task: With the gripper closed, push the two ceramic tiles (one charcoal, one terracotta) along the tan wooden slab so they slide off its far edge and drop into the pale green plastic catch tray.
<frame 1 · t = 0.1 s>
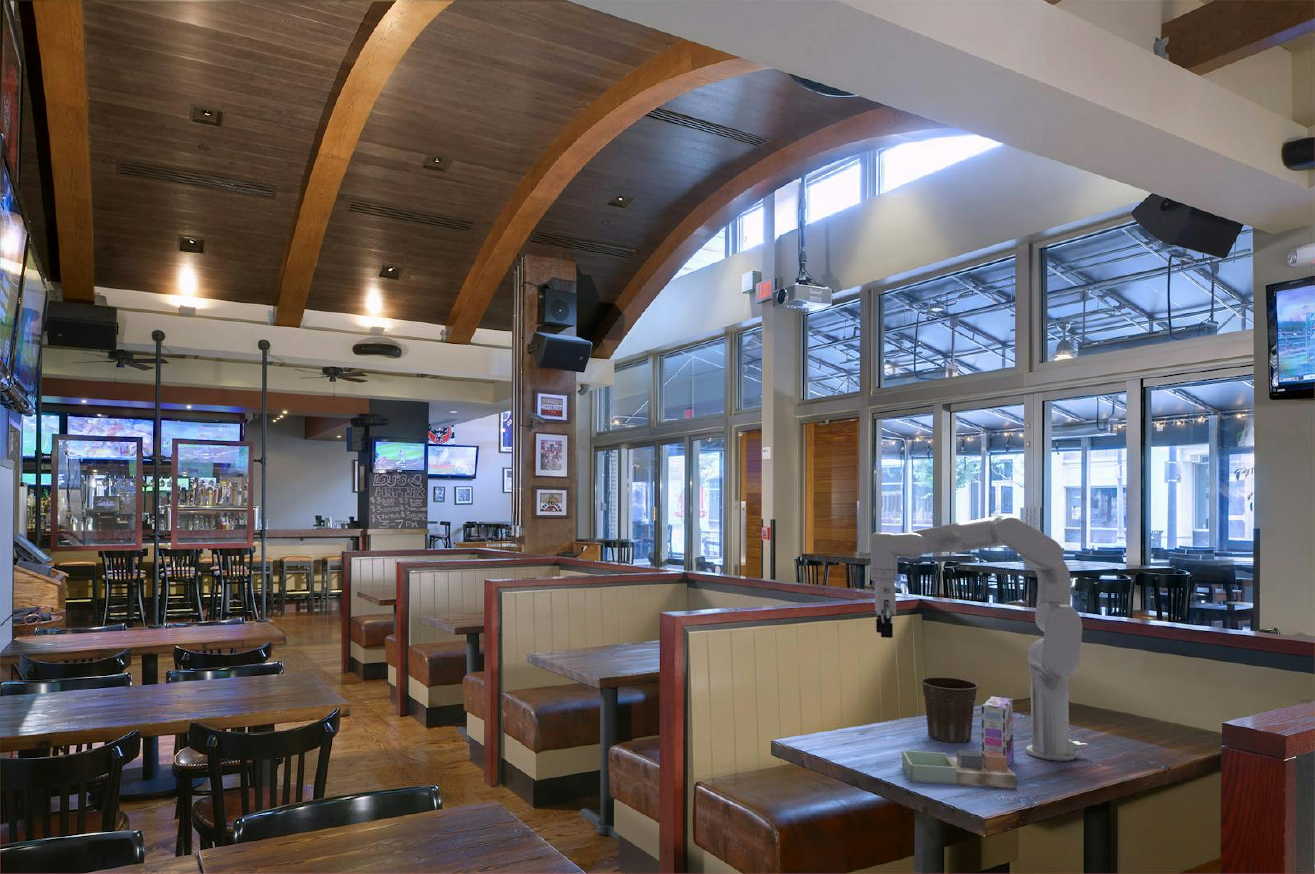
hand: (884, 634, 242), 31 cm above the table, fingers open, 9 cm apart
tile 2: (994, 766, 212), point 3 cm above the table, touching tan wooden slab
candy box: (998, 764, 224), on the table
tile front: (969, 765, 213), point 3 cm above the table, touching tan wooden slab
plant pot: (949, 738, 250), on the table
tray: (928, 774, 214), on the table
tan wooden slab: (979, 777, 212), on the table
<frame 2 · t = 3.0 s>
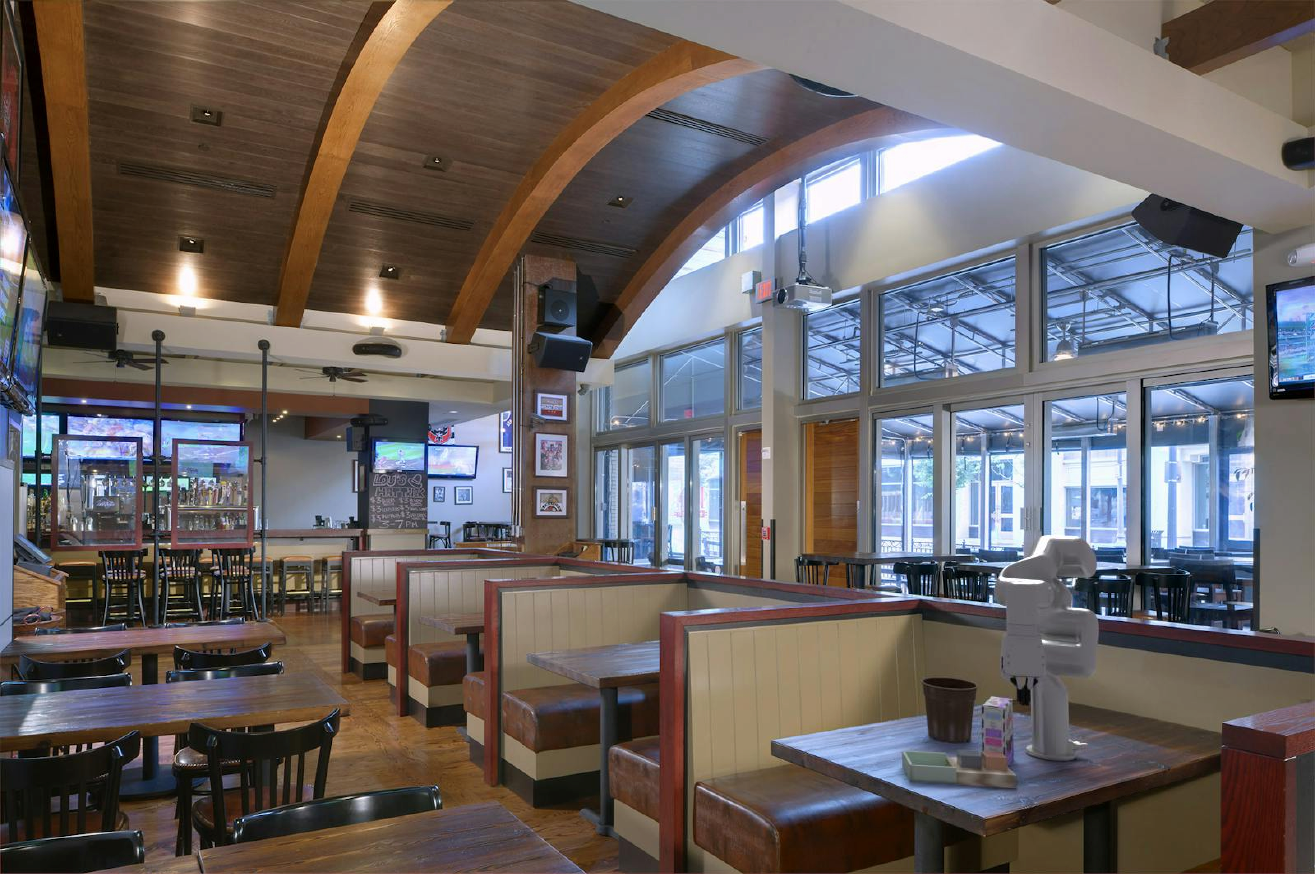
hand: (1023, 704, 212), 19 cm above the table, fingers closed
nothing on the table moved.
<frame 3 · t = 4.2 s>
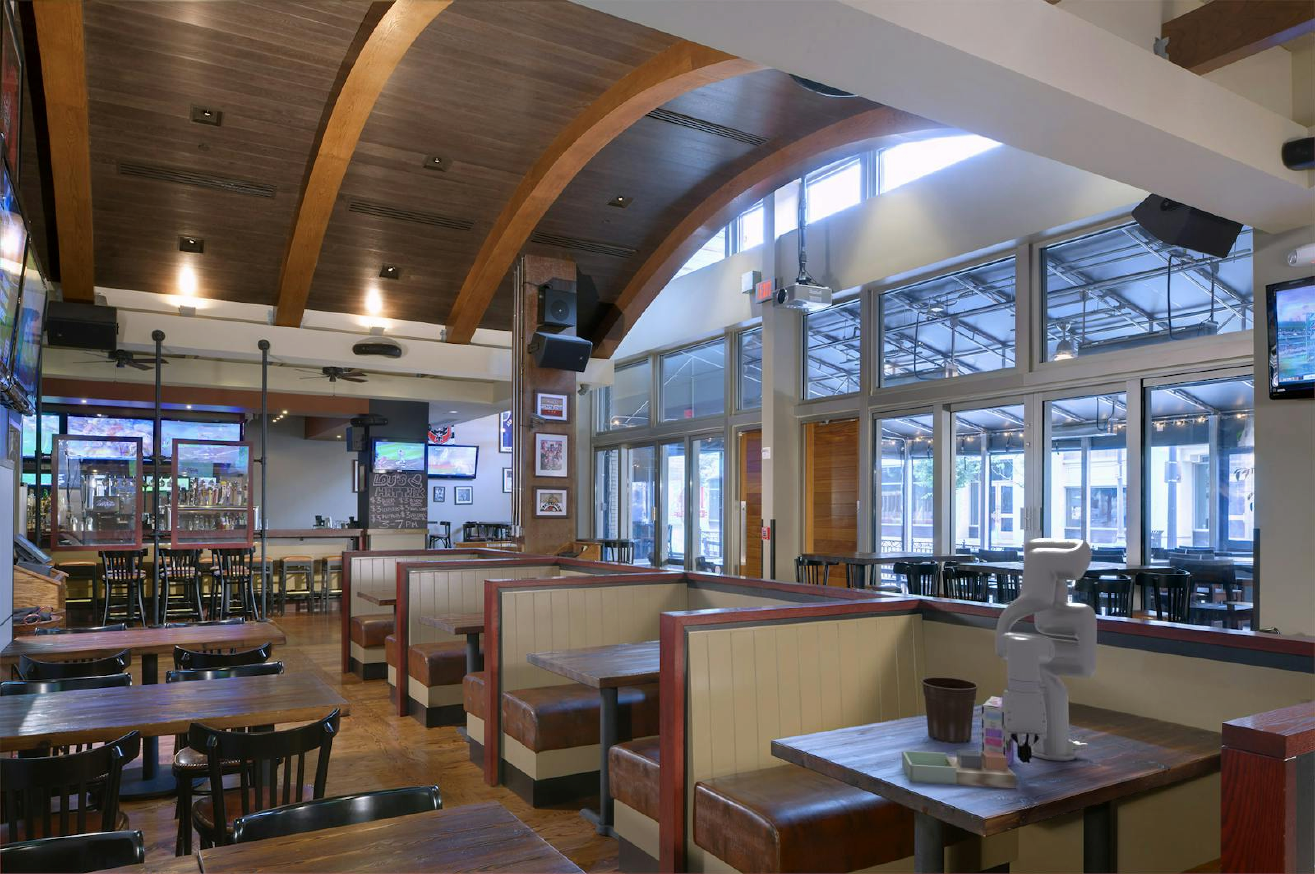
hand: (1024, 761, 211), 5 cm above the table, fingers closed
nothing on the table moved.
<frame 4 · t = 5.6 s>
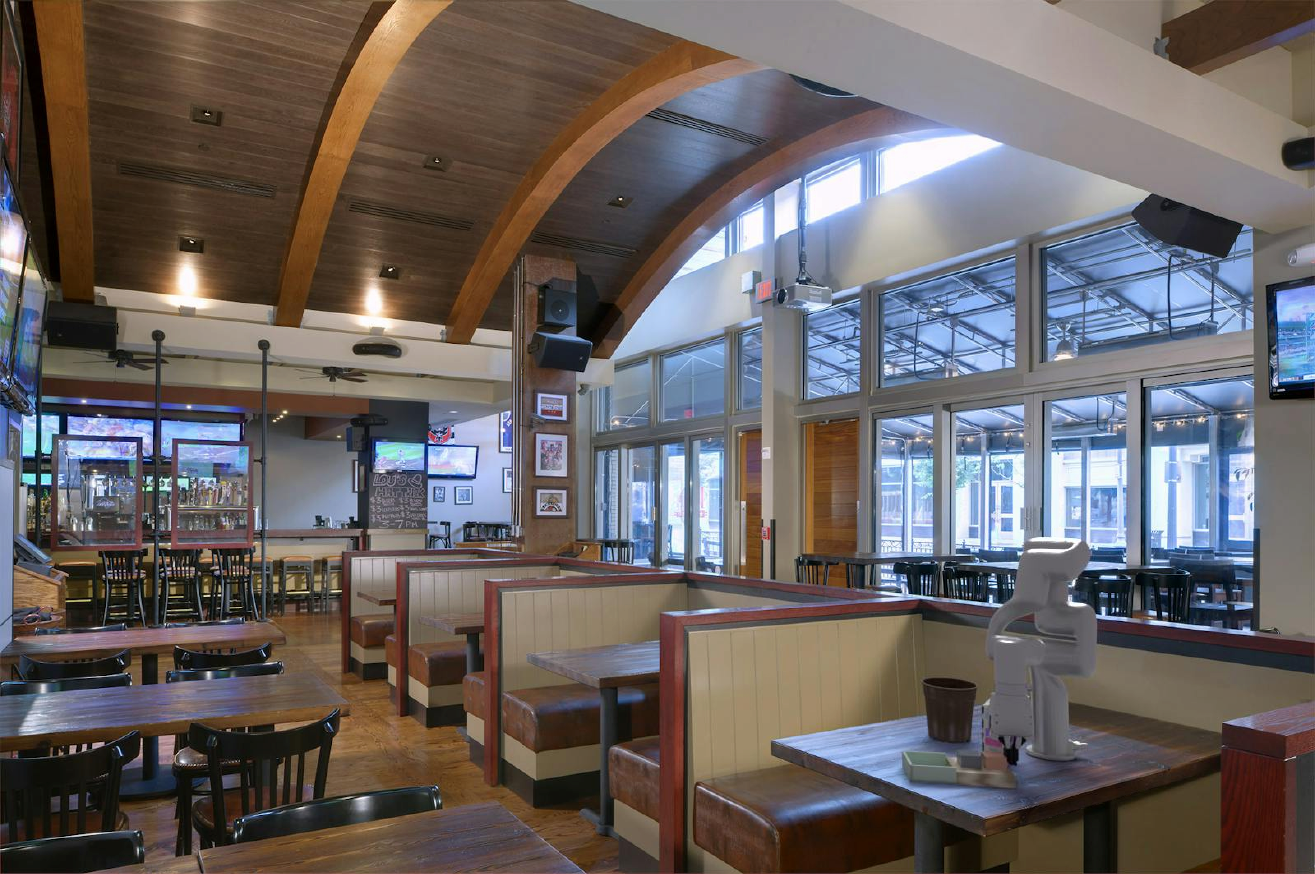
hand: (1011, 763, 211), 4 cm above the table, fingers closed
tile 2: (993, 766, 212), point 3 cm above the table, touching tan wooden slab, gripper
everything else where it was.
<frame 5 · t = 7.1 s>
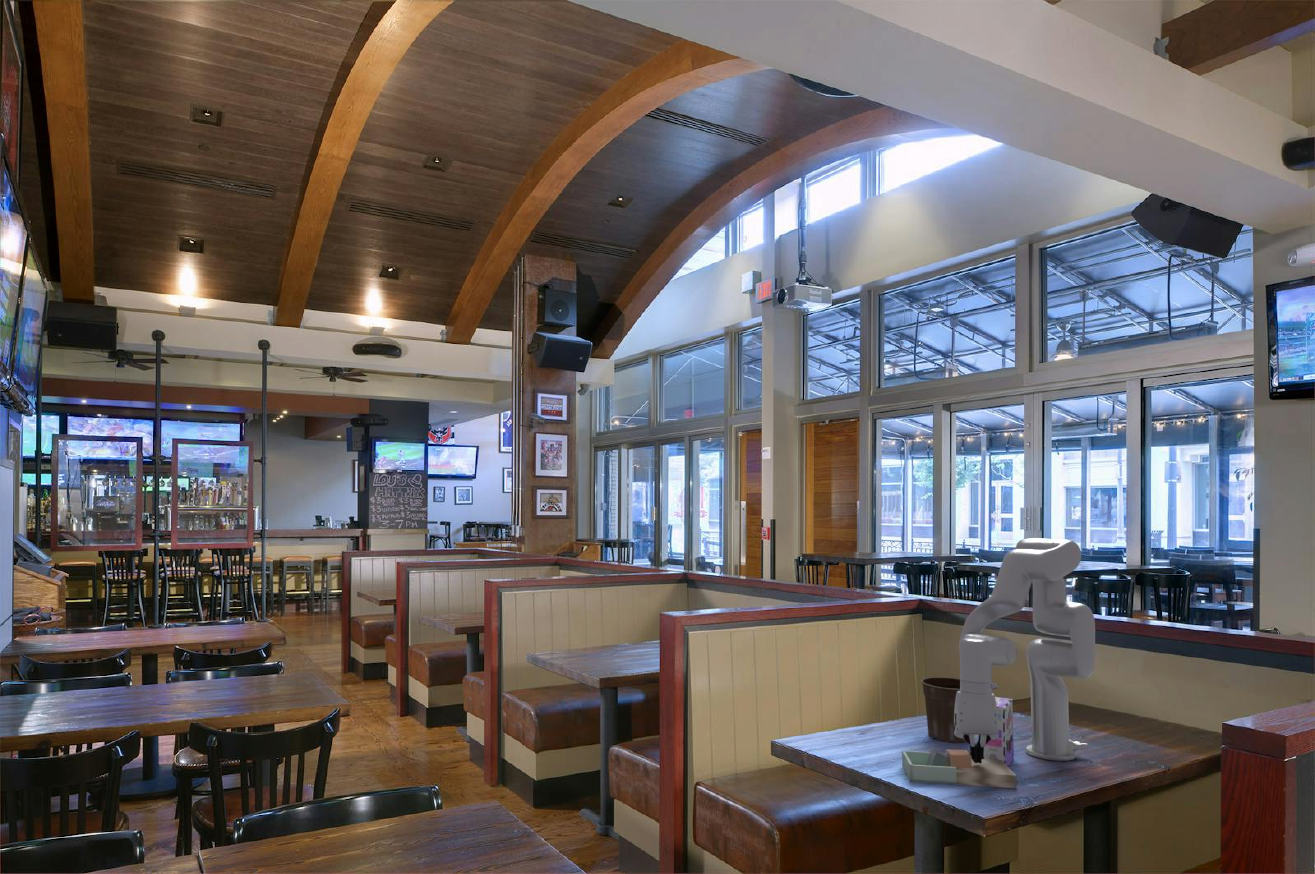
hand: (976, 761, 212), 4 cm above the table, fingers closed
tile 2: (958, 764, 213), point 3 cm above the table, touching tan wooden slab, gripper
tile front: (942, 763, 213), point 3 cm above the table, tilted 70°, touching tray
everything else where it was.
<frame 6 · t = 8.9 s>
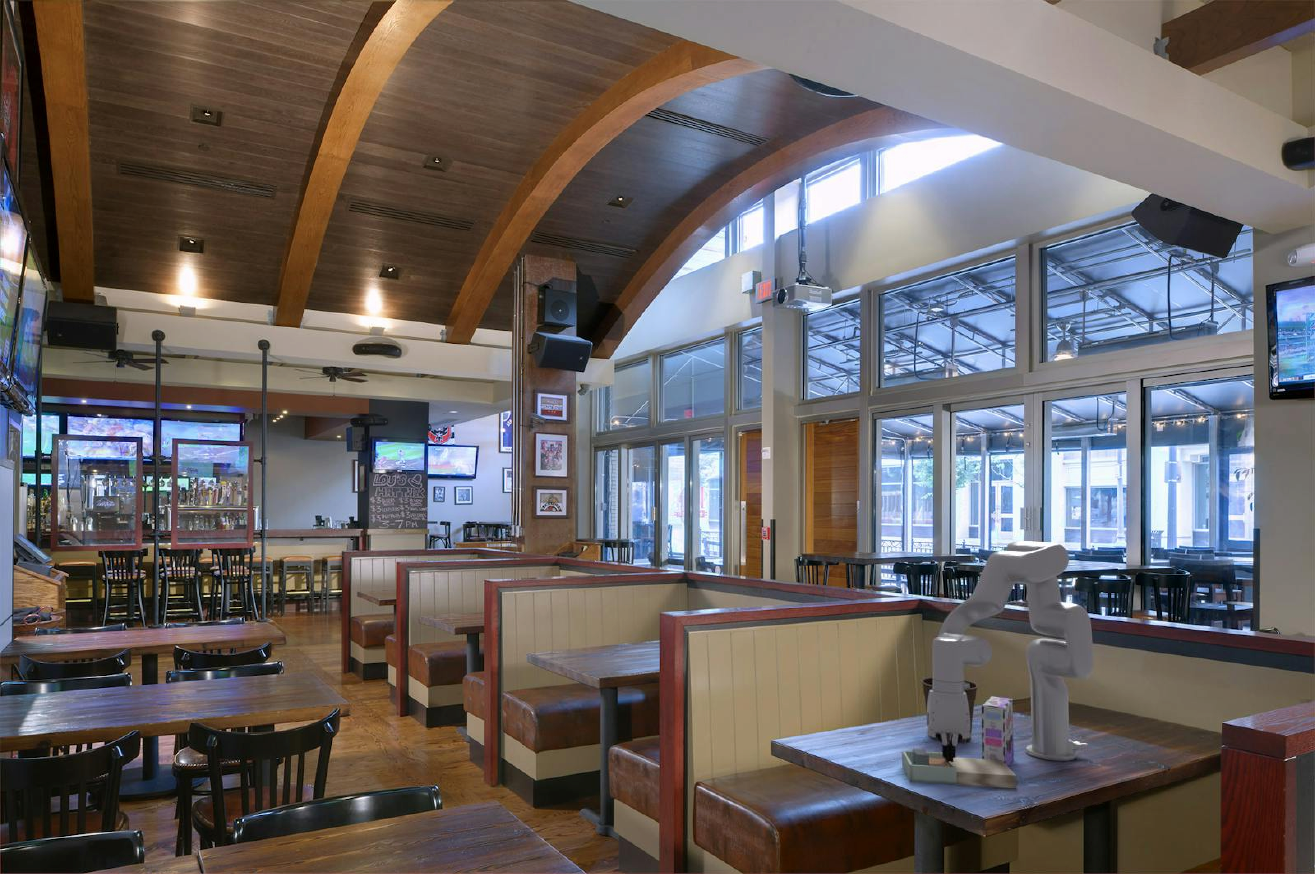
hand: (948, 760, 213), 4 cm above the table, fingers closed
tile 2: (937, 773, 213), point 1 cm above the table, touching tray
tile front: (926, 761, 214), point 3 cm above the table, tilted 90°, touching tray
everything else where it was.
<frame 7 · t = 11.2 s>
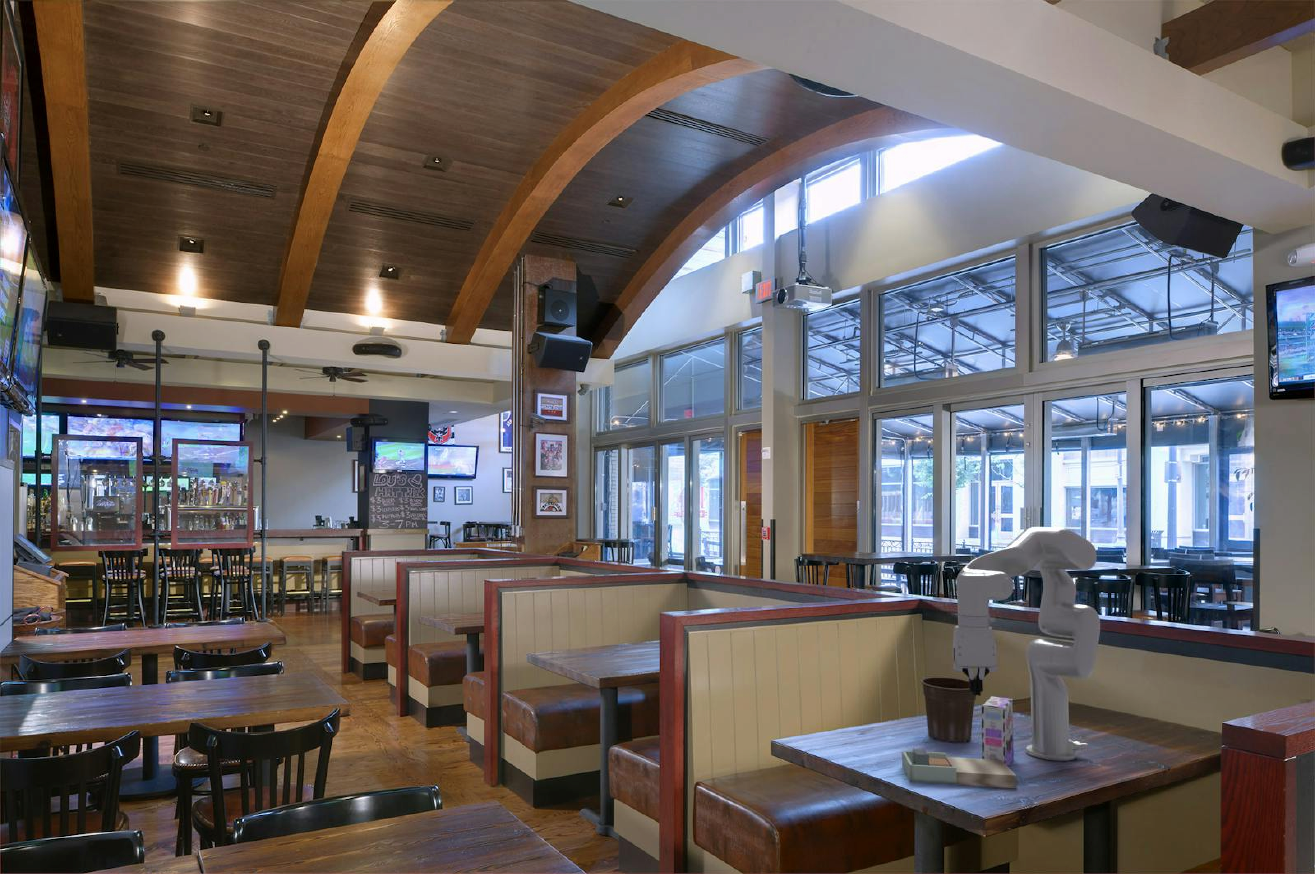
hand: (976, 694, 214), 21 cm above the table, fingers closed
nothing on the table moved.
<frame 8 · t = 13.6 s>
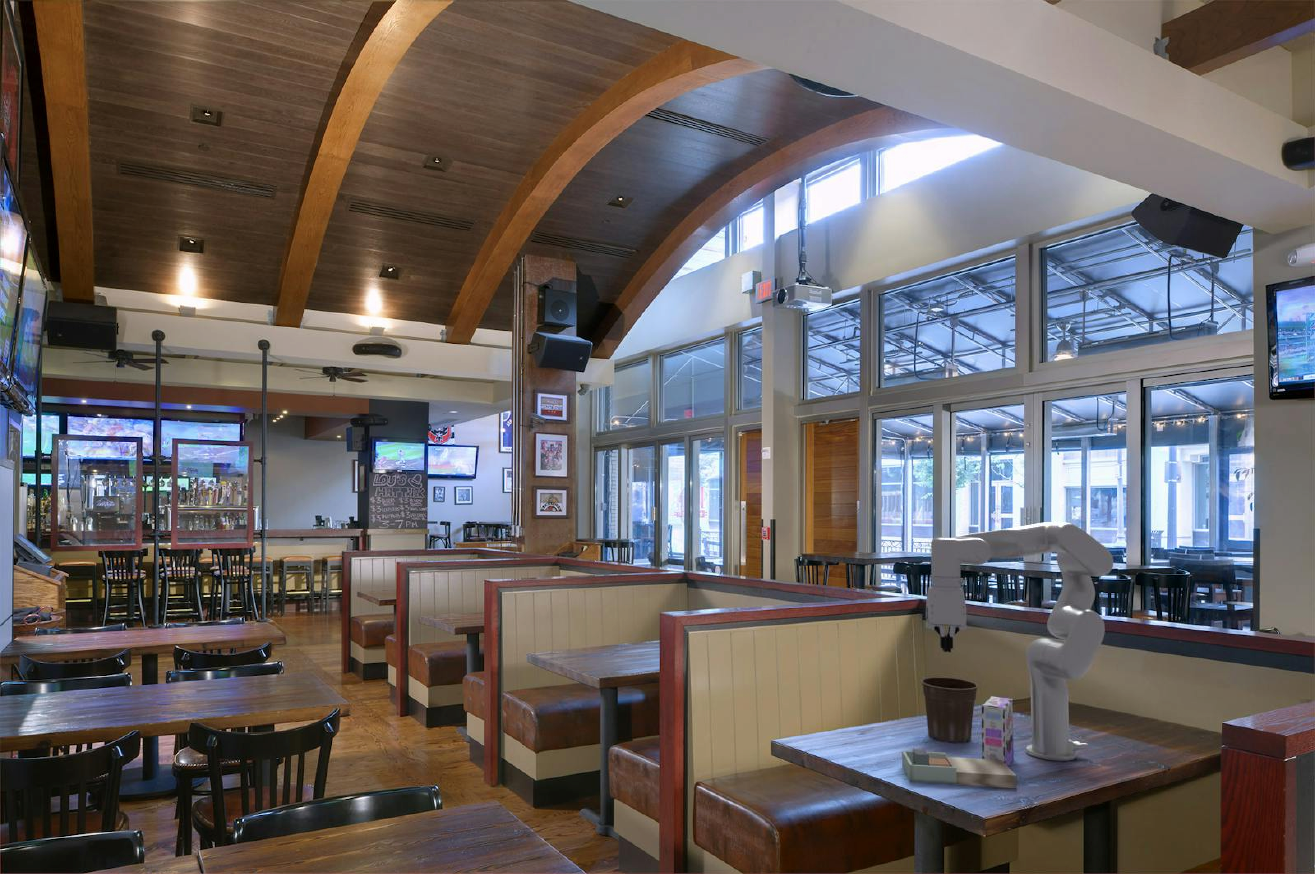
hand: (946, 651, 228), 29 cm above the table, fingers closed
nothing on the table moved.
at the end: tile front inside the target area on the tray (0.4 cm from its centre), point 3.1 cm above the tray's base; tile 2 inside the target area on the tray (2.2 cm from its centre), point 0.6 cm above the tray's base; tile 2 touching tray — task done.
